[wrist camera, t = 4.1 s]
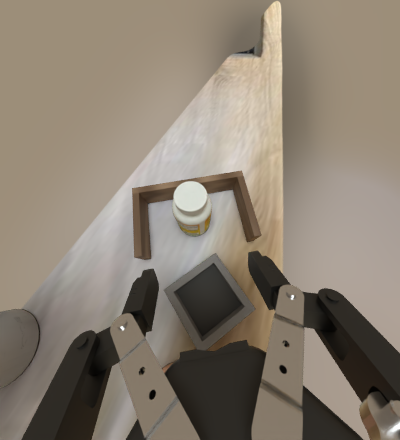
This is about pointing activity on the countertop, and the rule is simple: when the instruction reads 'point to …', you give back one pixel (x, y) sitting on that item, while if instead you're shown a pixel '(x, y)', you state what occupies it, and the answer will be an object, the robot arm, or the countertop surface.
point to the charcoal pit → (208, 302)
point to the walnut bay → (167, 192)
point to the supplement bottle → (192, 208)
